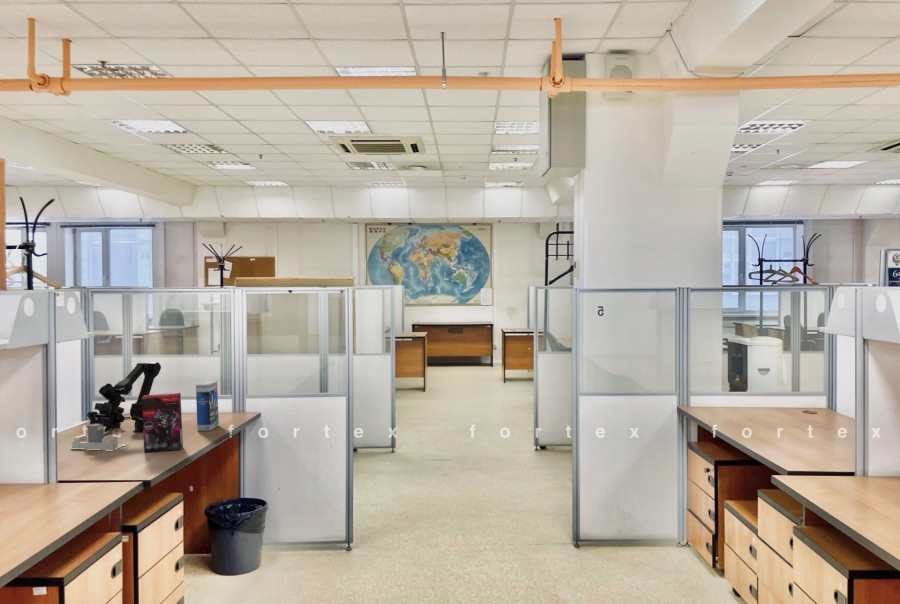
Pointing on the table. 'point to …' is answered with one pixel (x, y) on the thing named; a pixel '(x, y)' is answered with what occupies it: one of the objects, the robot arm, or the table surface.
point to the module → (95, 433)
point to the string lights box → (207, 405)
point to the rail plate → (106, 444)
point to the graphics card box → (162, 422)
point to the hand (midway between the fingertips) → (97, 431)
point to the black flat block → (106, 421)
